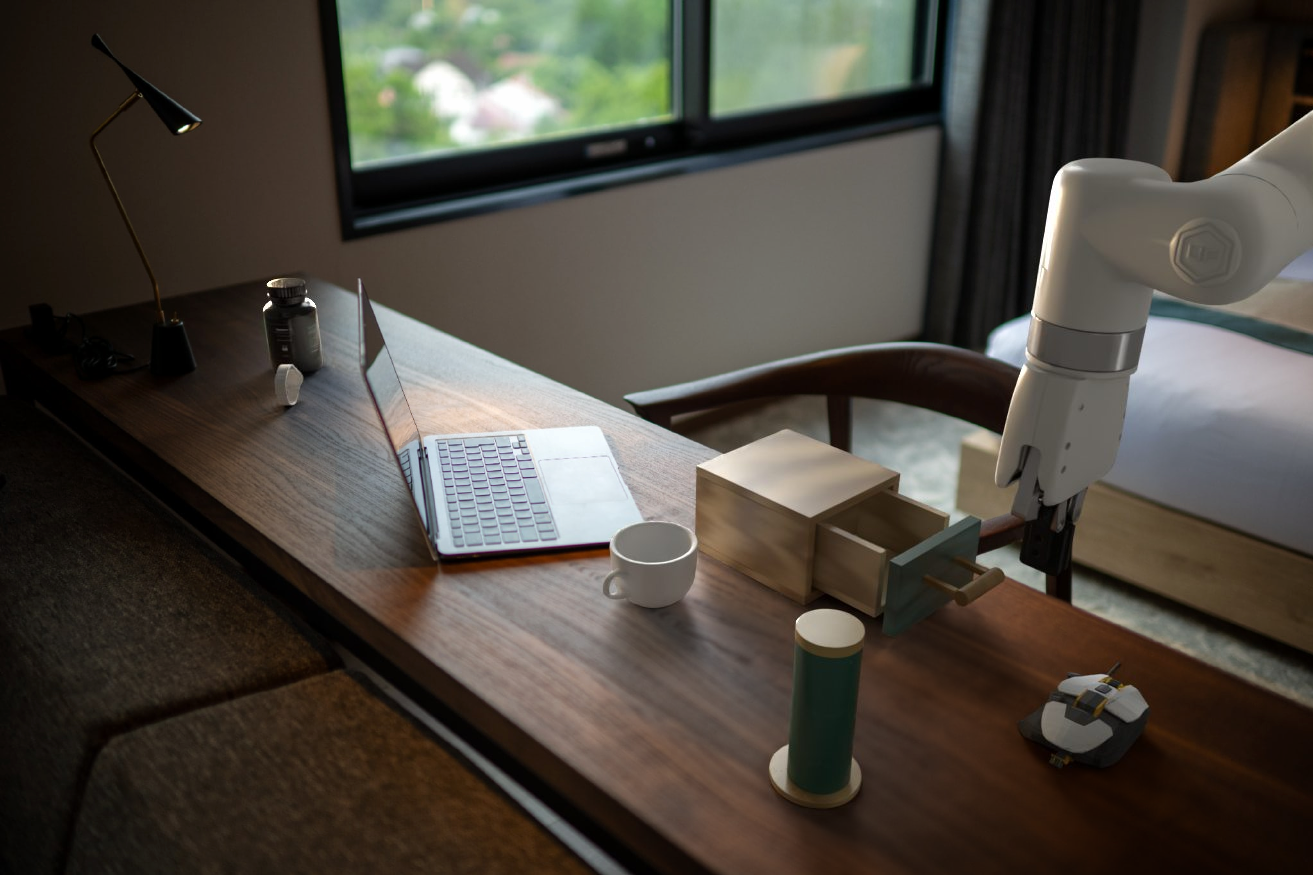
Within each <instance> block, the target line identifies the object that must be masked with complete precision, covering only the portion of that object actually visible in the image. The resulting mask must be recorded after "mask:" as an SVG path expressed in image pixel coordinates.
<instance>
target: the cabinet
mask: <svg viewBox="0 0 1313 875" xmlns="http://www.w3.org/2000/svg"><path fill="white" fill-rule="evenodd" d="M695 474H696V475H695V508H694V509H695V511H694V512H695V514H694V515H695V516H694V534H695V535H696V537H697V541H698V551H700V552H702V553H704V554H706V555H708V556H709V557H712V558H713V559H715V560H717V561H719V562H721V563H723V564H724V565H727V566H728V567H730V568H732V569H734V570H736V571H737V572H740V573H741V574H743V575H745V576H747V577H748V578H751V579H753V580H754V581H757V582H759V583H761V584H762V585H764V586H766V587H768V588H770V589H772V590H774V591H776V592H777V593H779V594H781V595H783V596H785V597H787V598H789V599H791V600H792V601H793V602H794V601H795V603H798V604H800V605H802V606H806V605H808V604H810V603H812V602H814V601H815V600H817V599H818V598H820V597H823V596H824V595H826V594H827V593H825V592H823V591H821V590H819V589H817V588H815V587H814V586H812V572H813V558H814V544H815V530H816V524H817V523H819V522H821V521H823V520H825V519H827V518H829V517H831V516H833V515H835V514H837V513H839V512H841V511H843V510H845V509H847V508H849V507H851V506H853V505H855V504H857V503H859V502H861V501H862V500H864V499H866V498H868V497H870V496H872V495H874V494H876V493H878V492H880V491H882V490H884V489H886V488H887V489H889V490H892V491H894V492H897V493H899V489H900V481H901V473H900V472H898V471H895V470H893V469H891V468H888V467H885V466H883V465H880V464H878V463H875V462H873V461H870V460H867V459H866V458H864V457H863V458H862V457H860V456H858V455H855V454H854V453H853V454H852V453H850V452H849V451H845V450H843V449H840V448H837V447H835V446H832V445H830V444H827V443H825V442H822V441H821V440H817V439H814V438H812V437H809V436H807V435H805V434H802V433H801V432H800V433H799V432H797V431H795V430H792V429H790V428H785V429H782V430H780V431H777V432H776V433H773V434H771V435H767V436H766V437H763V438H760V439H758V440H755V441H753V442H750V443H748V444H746V445H743V446H741V447H738V448H736V449H734V450H730V451H729V452H727V453H724V454H721V455H719V456H716V457H714V458H711V459H709V460H706V461H704V462H701V463H699V464H697V465H695Z"/></svg>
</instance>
